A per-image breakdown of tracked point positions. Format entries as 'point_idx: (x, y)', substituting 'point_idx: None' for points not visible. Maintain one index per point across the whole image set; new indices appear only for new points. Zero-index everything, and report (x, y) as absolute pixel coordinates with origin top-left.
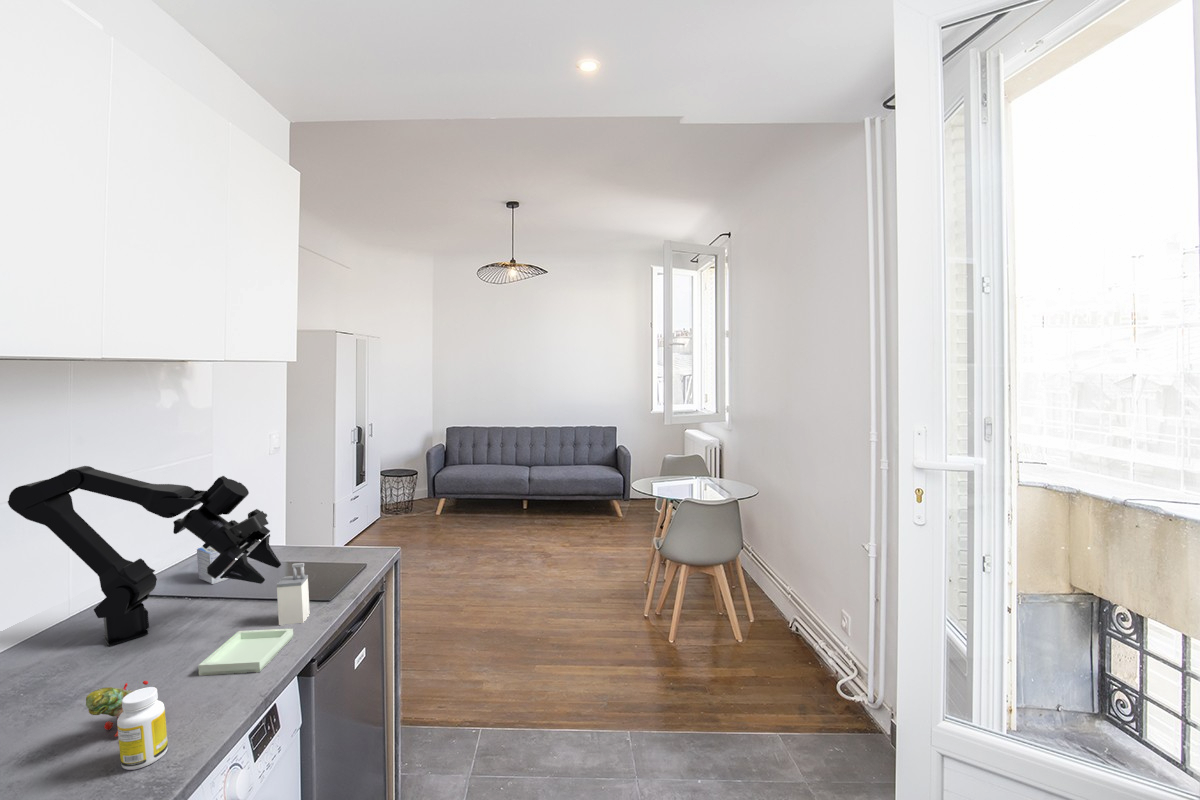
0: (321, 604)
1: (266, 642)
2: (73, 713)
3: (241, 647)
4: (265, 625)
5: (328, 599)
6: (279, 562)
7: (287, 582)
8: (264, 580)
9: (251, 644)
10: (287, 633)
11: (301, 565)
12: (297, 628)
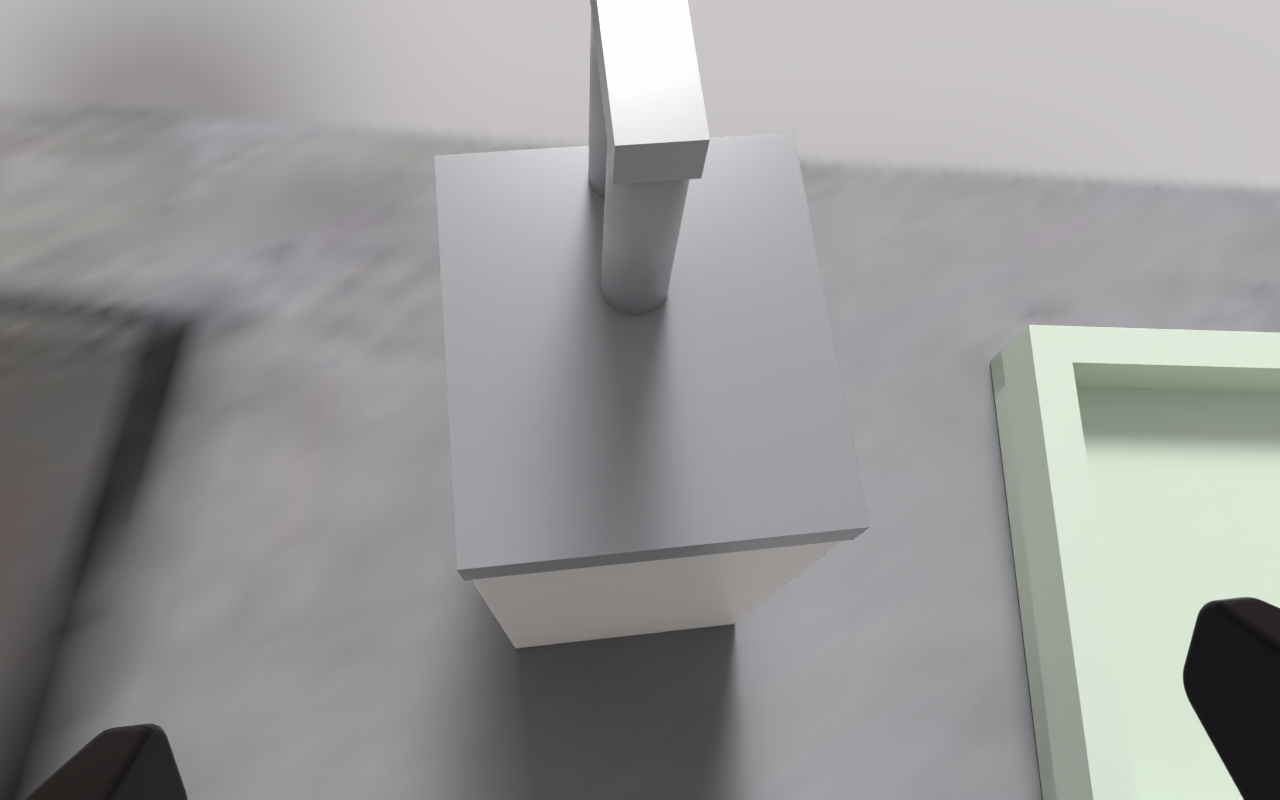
0: (254, 381)
1: (1152, 538)
2: None
3: None
4: (716, 790)
5: (127, 354)
6: (95, 766)
7: (780, 360)
8: (1237, 601)
9: None
10: (1130, 332)
11: None
12: None
